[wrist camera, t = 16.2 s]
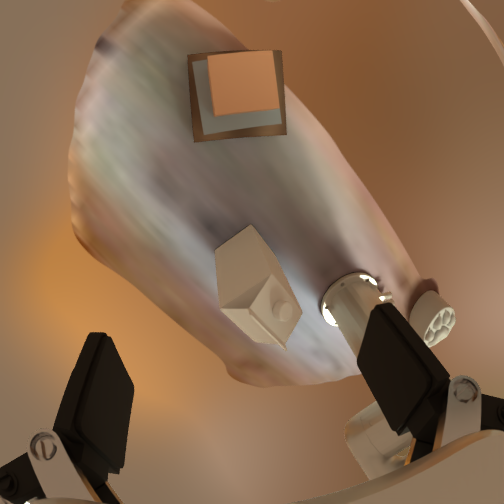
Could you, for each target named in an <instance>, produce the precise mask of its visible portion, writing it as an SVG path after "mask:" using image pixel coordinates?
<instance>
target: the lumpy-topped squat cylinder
mask: <svg viewBox="0 0 504 504" xmlns="http://www.w3.org/2000/svg"><path fill="white" fill-rule="evenodd" d="M455 322H456V318H455V312H454V310H453V308H452V307H451V306H450V305H449V304H448V303H447V302H446V301H445V300H444V299H443V298H442V297H441V296H440V295H439V294H438V293H436V292H435V291H432V290H430V291H427V292H425V293H424V294H423V295H422V296H421V297H420V298H419V299H418V300H417V302H416V303H415V305H414V307H413V309H412V311H411V313H410V319H409V324H410V325H411V326H412V328H413V329H414V330H415V331H416V333H417V334H418V335H419V336H420V337H421V339H422V340H423V341H424V342H425V344H426V345H427V346H428V347H431V346H433V345H436V344H437V343H438V342H439V341H441V340H442V339H444V338H446V337H447V336H448V333H449V332H450V330H451V328H452V326H454V324H455Z"/></svg>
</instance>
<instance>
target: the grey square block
mask: <svg viewBox="0 0 504 504" xmlns="http://www.w3.org/2000/svg"><path fill="white" fill-rule="evenodd" d="M207 62H208V59H206V60H201V61H195V62H192V64H193V71H194V77H195V84H196V90H197V96H198V103H199V109H200V115H201V121H202V127H203V133H204V135H207V134H213V133H218V132H224V131H230V130H237V129H243V128H250V127H258V126H266V125H274V124H282V122H281V114H280V108H278V109H273V110H268V111H258V112H248V113H240V114H232V115H224V116H217V117H214V114H213V107H212V99H211V92H210V84H209V76H208V68H207ZM279 107H280V106H279Z"/></svg>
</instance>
